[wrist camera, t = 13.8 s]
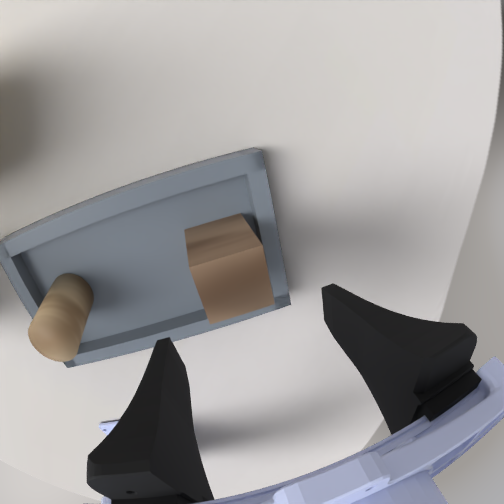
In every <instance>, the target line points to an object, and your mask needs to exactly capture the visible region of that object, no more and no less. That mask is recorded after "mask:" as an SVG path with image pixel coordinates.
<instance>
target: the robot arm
mask: <svg viewBox="0 0 504 504" xmlns="http://www.w3.org/2000/svg"><path fill="white" fill-rule="evenodd" d="M322 299H323V311H324V321H325V323H326V324H327V326H328V328H329V330H330V332H331V333H332V335H333V337H334V338H335V340H336V341H337V342H338V344H339V345H340V346H341V348H342V349H343V350H344V352H345V353H346V354H347V356H348V357H349V358H350V360H351V361H352V362H353V364H354V365H355V366H356V368H357V369H358V371H359V372H360V374H361V375H362V377H363V379H364V380H365V382H366V384H367V386H368V387H369V389H370V391H371V393H372V395H373V397H374V399H375V400H376V402H377V404H378V406H379V408H380V410H381V412H382V415H383V417H384V419H385V421H386V423H387V425H388V428H389V430H390V432H391V434H392V435H391V436H389V437H387V438H385V439H383V440H382V441H380V442H378V443H376V444H374V445H372V446H370V447H368V448H366V449H364V450H362V451H360V452H358V453H356V454H354V455H351V456H349V457H347V458H345V459H343V460H340V461H338V462H336V463H333V464H331V465H328V466H326V467H324V468H321V469H319V470H316V471H313V472H311V473H308V474H305V475H303V476H300V477H297V478H294V479H291V480H288V481H285V482H282V483H279V484H276V485H272V486H269V487H266V488H262V489H258V490H255V491H251V492H247V493H243V494H239V495H235V496H230V497H226V498H221V499H216V500H214V497H213V495H212V492H211V489H210V486H209V483H208V480H207V477H206V474H205V471H204V468H203V464H202V461H201V457H200V454H199V450H198V446H197V442H196V437H195V433H194V427H193V419H192V409H191V398H190V387H189V381H188V377H187V372H186V367H185V365H184V363H183V361H182V359H181V358H180V356H179V354H178V352H177V350H176V348H175V346H174V344H173V343H172V341H171V339H170V337H167V338H164V339H160V340H157V342H156V344H155V346H154V349H153V352H152V355H151V358H150V360H149V363H148V366H147V368H146V371H145V373H144V376H143V378H142V380H141V382H140V385H139V387H138V389H137V391H136V393H135V395H134V397H133V399H132V401H131V403H130V404H129V406H128V408H127V409H126V411H125V413H124V414H123V415H122V417H121V418H120V420H119V421H114V422H107V423H101V424H99V428H100V429H101V430H102V431H103V432H104V433H105V434H106V435H107V437H106V438H105V439H104V440H103V441H102V442H101V443H100V444H99V445H98V446H97V447H96V448H95V449H94V450H93V451H92V452H91V453H90V454H89V455H88V460H87V484H88V485H89V486H90V487H91V488H92V489H94V490H95V491H97V492H98V493H100V494H102V495H104V497H102V499H101V504H448V502H447V501H446V499H445V498H444V496H443V495H442V493H441V491H440V490H439V488H438V487H437V485H436V484H435V482H434V481H433V479H432V478H433V477H434V476H436V475H437V474H438V473H440V472H441V471H442V470H444V469H445V468H446V467H448V466H449V465H450V464H452V463H453V462H454V461H455V460H457V459H458V458H459V457H460V456H462V455H463V454H464V453H465V452H466V451H468V450H469V449H470V448H471V447H472V446H473V445H474V444H475V443H477V442H478V441H479V440H480V439H481V438H482V437H483V436H485V434H487V433H488V432H489V431H490V430H491V429H492V428H493V427H494V426H495V425H496V424H497V423H498V422H499V421H500V420H501V419H503V418H504V364H502V362H501V361H500V360H499V359H497V358H496V356H494V357H492V358H491V359H490V360H489V361H488V362H486V363H485V364H484V365H483V366H482V367H481V368H480V369H479V370H478V371H477V372H476V373H475V372H474V370H473V367H474V365H473V364H472V363H471V362H470V359H471V356H472V354H473V351H474V349H475V346H476V343H477V336H476V334H475V333H473V332H472V331H471V330H470V329H469V328H468V327H467V326H465V324H462V323H442V322H434V321H428V320H422V319H418V318H413V317H409V316H406V315H402V314H399V313H396V312H393V311H390V310H387V309H385V308H382V307H380V306H378V305H375V304H373V303H371V302H369V301H367V300H364V299H362V298H360V297H358V296H356V295H354V294H353V293H351V292H349V291H347V290H345V289H343V288H341V287H339V286H337V285H335V284H330V285H328V286H325V287H322ZM84 504H86V503H84Z"/></svg>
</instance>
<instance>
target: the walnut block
mask: <svg viewBox="0 0 504 504" xmlns="http://www.w3.org/2000/svg"><path fill="white" fill-rule="evenodd" d="M184 232H185V240H186V248H187V256H188V263H189V269H190V272H191V274H192V277H193V280H194V283H195V286H196V288H197V291H198V294H199V296H200V299H201V302H202V305H203V307H204V310H205V312H206V315H207V318H208V320H209V323H210V324H214V323H217V322H220V321H224V320H227V319H230V318H233V317H236V316H240V315H243V314H246V313H249V312H252V311H255V310H258V309H261V308H265V307H268V306H271V305H274V304H275V303H274V298H273V293H272V288H271V283H270V278H269V273H268V269H267V264H266V259H265V254H264V249H263V245H262V244H261V242H260V241H259V239H258V238H257V236H256V235H255V233H254V232H253V230H252V229H251V228H250V226H249V225H248V223H247V222H246V220H245V219H244V217H243V216H242V215H241V213H239V214H235V215H232V216H228V217H225V218H221V219H218V220H215V221H211V222H208V223H204V224H201V225H198V226H195V227H191V228H188V229H185V230H184Z"/></svg>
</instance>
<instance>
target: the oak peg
mask: <svg viewBox="0 0 504 504" xmlns="http://www.w3.org/2000/svg"><path fill="white" fill-rule="evenodd" d="M93 301H94V295H93V291H92V289H91V287H90V285H89V284H88V283H87V282H86V281H85V280H84V279H83V278H81V277H80V276H77V275H75V274H69V273H67V274H62V275H60V276H58V277H57V278H56V279H55V280H54V282H53V284H52V285H51V287H50V289H49V291H48V292H47V294H46V296H45V298H44V300H43V301H42V303H41V305H40V307H39V309H38V311H37V313H36V315H35V316H34V318H33V320H32V322H31V324H30V326H29V329H28V335H29V339H30V341H31V343H32V345H33V346H34V348H35V349H36V350H37V351H38V352H39V353H41V354H42V355H43V356H45V357H47V358H49V359H51V360H54V361H59V362H66V361H70V360H72V359H73V358H74V357H75V356H76V355H77V352H78V348H79V345H80V342H81V338H82V335H83V332H84V329H85V325H86V322H87V319H88V316H89V313H90V310H91V307H92V304H93Z"/></svg>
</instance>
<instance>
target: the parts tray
mask: <svg viewBox="0 0 504 504" xmlns="http://www.w3.org/2000/svg"><path fill="white" fill-rule="evenodd" d="M239 213H241V215H242V216H243V217H244V219H245V220H246V222H247V223H248V225H249V226H250V228H251V229H252V230H253V232H254V233H255V235H256V236H257V238H258V239H259V241H260V242H261V244H262V245H263V249H264V254H265V259H266V264H267V269H268V273H269V278H270V283H271V288H272V293H273V298H274V303H275V304H274V305H271V306H268V307H265V308H261V309H258V310H255V311H252V312H249V313H246V314H243V315H240V316H236V317H233V318H230V319H227V320H224V321H220V322H217V323H214V324H210V323H209V320H208V318H207V315H206V312H205V310H204V307H203V305H202V302H201V299H200V296H199V294H198V291H197V288H196V286H195V283H194V280H193V277H192V274H191V272H190V269H189V263H188V256H187V248H186V240H185V232H184V230H185V229H188V228H191V227H195V226H198V225H201V224H204V223H208V222H211V221H215V220H218V219H221V218H225V217H228V216H232V215H235V214H239ZM0 262H1V264H2V266H3V268H4V270H5V272H6V274H7V276H8V278H9V280H10V282H11V283H12V285H13V287H14V289H15V291H16V292H17V294H18V296H19V298H20V299H21V301H22V303H23V304H24V306H25V308H26V309H27V311H28V312H29V314H30V316H31V317H32V319H33V318H34V316H35V315H36V313H37V311H38V309H39V307H40V305H41V303H42V301H43V300H44V298H45V296H46V294H47V292H48V291H49V289H50V287H51V285H52V284H53V282H54V280H55V279H56V278H57V277H58V276H60V275H62V274H67V273H69V274H75V275H77V276H80V277H81V278H83V279H84V280H85V281H86V282H87V283H88V284H89V285H90V287H91V289H92V291H93V295H94V301H93V304H92V307H91V310H90V313H89V316H88V319H87V322H86V325H85V329H84V332H83V335H82V338H81V342H80V345H79V348H78V352H77V355H76V356H75V357H74V358H73V359H72V360H70V361H66V362H63V363H64V364H65V365H66V367H67V368H70V367H74V366H79V365H83V364H88V363H92V362H97V361H101V360H105V359H109V358H113V357H117V356H121V355H125V354H129V353H133V352H137V351H141V350H145V349H149V348H152V347H154V346H155V344H156V342H157V340H160V339H164V338H167V337H170V339H171V341H172V342H174V341H178V340H181V339H185V338H188V337H192V336H195V335H198V334H202V333H205V332H208V331H212V330H215V329H218V328H221V327H225V326H228V325H231V324H234V323H237V322H240V321H244V320H247V319H250V318H253V317H256V316H259V315H262V314H265V313H268V312H271V311H274V310H277V309H280V308H283V307H285V306H288V305H291V302H290V296H289V290H288V284H287V279H286V273H285V267H284V262H283V256H282V251H281V246H280V240H279V235H278V229H277V224H276V219H275V214H274V209H273V203H272V198H271V193H270V188H269V183H268V178H267V173H266V168H265V164H264V159H263V154H262V151H261V150H259V149H256V148H254V147H253V148H249V149H245V150H241V151H237V152H233V153H229V154H226V155H222V156H218V157H215V158H211V159H207V160H204V161H200V162H197V163H193V164H190V165H187V166H183V167H180V168H177V169H173V170H170V171H167V172H164V173H161V174H158V175H155V176H152V177H149V178H146V179H143V180H140V181H137V182H134V183H131V184H128V185H126V186H123V187H120V188H117V189H115V190H112V191H109V192H106V193H104V194H101V195H99V196H96V197H93V198H91V199H88V200H86V201H83V202H81V203H78V204H76V205H74V206H71V207H69V208H66V209H64V210H62V211H59V212H57V213H55V214H53V215H50V216H48V217H46V218H44V219H41V220H39V221H37V222H35V223H33V224H31V225H28V226H26V227H24V228H22V229H20V230H18V231H16V232H14V233H12V234H10V235H8V236H6V237H4V238H3V239H2V240H1V241H0Z"/></svg>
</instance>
